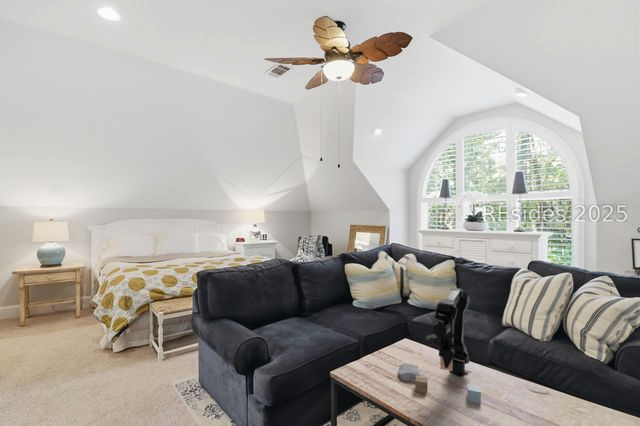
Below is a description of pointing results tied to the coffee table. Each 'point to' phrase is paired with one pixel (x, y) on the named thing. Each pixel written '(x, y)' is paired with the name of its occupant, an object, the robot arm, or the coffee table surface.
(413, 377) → the stone block
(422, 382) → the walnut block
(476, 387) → the slate blue block
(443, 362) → the terracotta block
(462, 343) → the robot arm
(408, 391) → the coffee table surface
